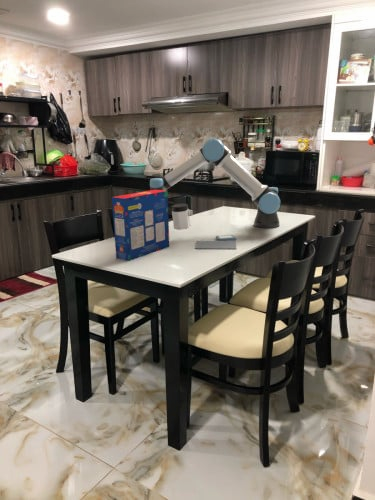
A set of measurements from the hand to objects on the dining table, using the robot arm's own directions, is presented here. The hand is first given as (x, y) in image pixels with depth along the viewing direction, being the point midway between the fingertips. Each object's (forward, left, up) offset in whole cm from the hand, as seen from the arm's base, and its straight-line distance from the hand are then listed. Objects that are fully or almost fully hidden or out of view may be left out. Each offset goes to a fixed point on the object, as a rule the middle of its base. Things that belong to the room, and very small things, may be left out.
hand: (190, 213), depth 200 cm
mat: (-13, +10, -14) cm, 22 cm away
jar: (+5, -1, -8) cm, 9 cm away
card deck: (-18, -2, -15) cm, 24 cm away
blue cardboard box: (+21, +23, -15) cm, 34 cm away
